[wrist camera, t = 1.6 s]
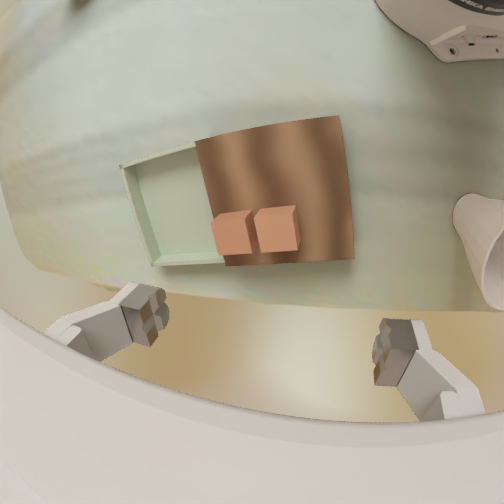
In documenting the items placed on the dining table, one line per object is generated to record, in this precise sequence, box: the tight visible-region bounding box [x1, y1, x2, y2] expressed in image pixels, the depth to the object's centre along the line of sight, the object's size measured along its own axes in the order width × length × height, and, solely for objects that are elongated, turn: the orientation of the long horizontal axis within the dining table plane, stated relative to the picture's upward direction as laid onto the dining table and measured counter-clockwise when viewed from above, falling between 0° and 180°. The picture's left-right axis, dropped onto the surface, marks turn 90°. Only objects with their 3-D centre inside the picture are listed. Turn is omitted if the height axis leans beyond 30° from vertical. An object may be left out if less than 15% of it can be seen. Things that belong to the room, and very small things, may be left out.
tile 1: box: [210, 210, 259, 255], centre depth 32 cm, size 4×4×3 cm
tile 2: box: [254, 205, 301, 253], centre depth 30 cm, size 4×4×3 cm
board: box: [195, 116, 355, 266], centre depth 32 cm, size 16×16×4 cm
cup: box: [452, 193, 504, 310], centre depth 22 cm, size 10×10×14 cm
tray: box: [119, 142, 225, 267], centre depth 37 cm, size 13×16×3 cm
